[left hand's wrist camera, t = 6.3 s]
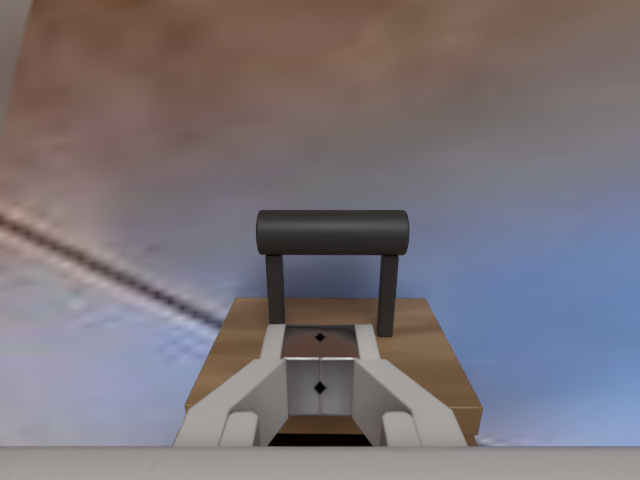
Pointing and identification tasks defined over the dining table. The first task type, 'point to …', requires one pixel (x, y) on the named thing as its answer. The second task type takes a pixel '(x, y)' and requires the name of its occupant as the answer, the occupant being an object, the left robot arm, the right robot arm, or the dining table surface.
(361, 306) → the drawer
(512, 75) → the dining table surface
